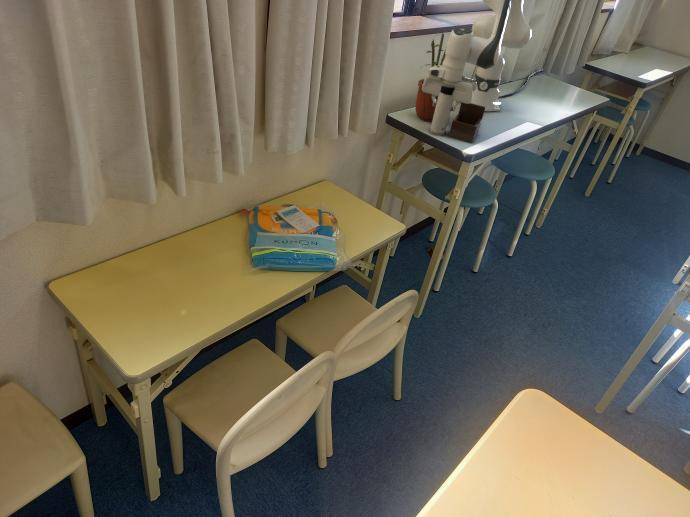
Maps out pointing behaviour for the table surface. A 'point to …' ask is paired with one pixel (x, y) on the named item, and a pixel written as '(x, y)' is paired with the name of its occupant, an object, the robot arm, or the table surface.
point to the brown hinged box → (467, 122)
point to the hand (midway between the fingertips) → (443, 108)
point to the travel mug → (442, 111)
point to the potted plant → (425, 99)
